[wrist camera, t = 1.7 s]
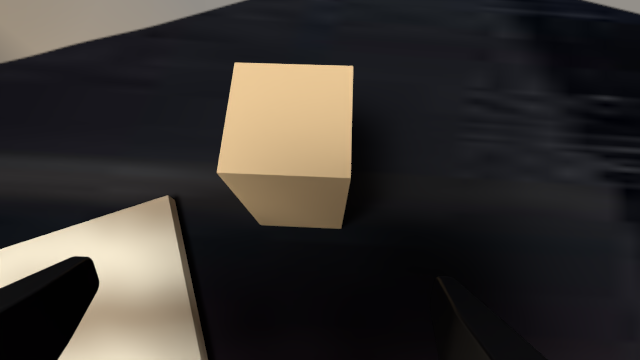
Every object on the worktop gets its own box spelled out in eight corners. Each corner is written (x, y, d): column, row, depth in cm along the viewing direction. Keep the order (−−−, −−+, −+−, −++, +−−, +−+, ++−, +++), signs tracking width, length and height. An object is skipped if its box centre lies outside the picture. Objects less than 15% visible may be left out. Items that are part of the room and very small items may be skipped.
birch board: (217, 407, 18) (211, 413, 17) (-21, 499, 17) (-41, 511, 16) (174, 200, 22) (167, 195, 21) (-21, 263, 21) (-37, 261, 20)
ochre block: (341, 228, 21) (350, 178, 13) (260, 225, 21) (216, 172, 13) (343, 154, 23) (353, 66, 14) (268, 151, 23) (235, 62, 14)
